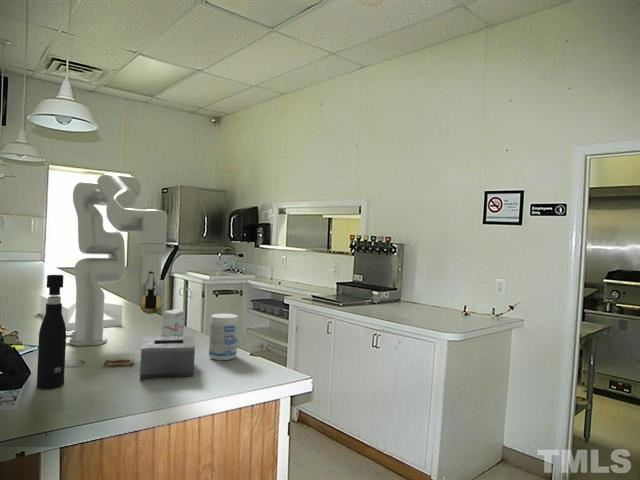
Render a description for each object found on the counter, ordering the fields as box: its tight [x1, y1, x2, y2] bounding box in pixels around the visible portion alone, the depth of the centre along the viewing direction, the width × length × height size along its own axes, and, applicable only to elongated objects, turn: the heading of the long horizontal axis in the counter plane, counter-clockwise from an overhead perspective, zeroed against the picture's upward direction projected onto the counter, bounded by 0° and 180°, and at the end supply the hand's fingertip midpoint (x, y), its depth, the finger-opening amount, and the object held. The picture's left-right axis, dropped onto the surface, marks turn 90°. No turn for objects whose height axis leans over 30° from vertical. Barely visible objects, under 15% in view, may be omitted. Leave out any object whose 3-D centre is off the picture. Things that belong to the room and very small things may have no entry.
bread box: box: [38, 294, 124, 332], centre depth 207 cm, size 45×22×10 cm, turn 45°
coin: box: [139, 294, 162, 315], centre depth 140 cm, size 3×6×6 cm
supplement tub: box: [208, 313, 239, 361], centre depth 157 cm, size 10×10×15 cm
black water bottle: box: [36, 274, 67, 390], centre depth 121 cm, size 6×6×30 cm
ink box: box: [161, 308, 186, 336], centre depth 176 cm, size 9×5×12 cm, turn 168°
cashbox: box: [139, 335, 196, 381], centre depth 139 cm, size 15×15×9 cm
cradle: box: [102, 357, 135, 368], centre depth 143 cm, size 8×5×1 cm, turn 108°
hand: (150, 307), depth 140 cm, fingers closed on coin, 2 cm apart
